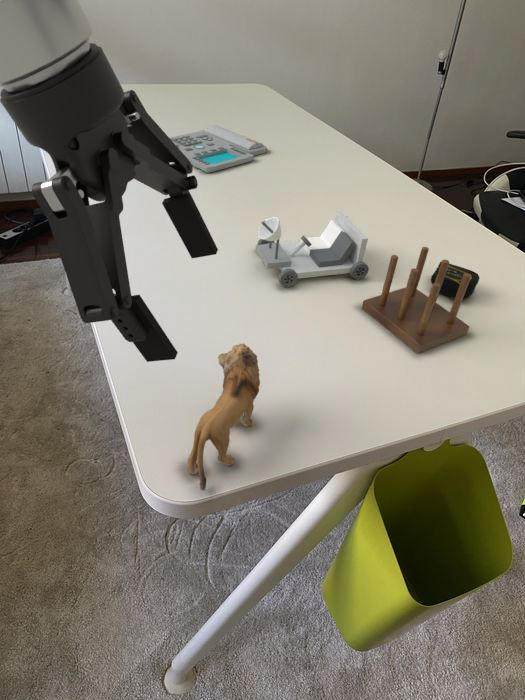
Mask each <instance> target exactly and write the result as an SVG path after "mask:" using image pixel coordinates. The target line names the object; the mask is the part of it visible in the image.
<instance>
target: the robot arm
mask: <svg viewBox="0 0 525 700" xmlns="http://www.w3.org/2000/svg"><path fill="white" fill-rule="evenodd" d="M93 30H94V29H93V27H92V25H91V22H90V21H89V19H88V17H87V15H86V14H85V12H84V10H83V8H82V6H81V4H80V2H79V1H78V0H0V87H2V90H1V91H0V103H1V105H2V106H3V108H4V109H5V111H6V113H7V114H8V115H9V117H10V119H11V120H12V121H13V123H14V124H15V126H16V127H17V129H18V130H19V131H20V133H21V135H22V136H23V137H24V139H25V140H26V142H27V143H28V144H29V145H31V146H33V147H37V148H38V149H41V150H42V151H44V152H46V153H47V154H48V155H49V157H50V158H51V161H52V163H53V166H54V168H55V169H54V170H55V174H53V175H52V176H51V177H49V179H46V180H43V181H38V182H34V183H33V185H31V186H32V187H31V194H32V196H33V198H34V199H35V201H36V203H37V204H38V206H39V208H40V209H41V211H42V212H43V215H44V216H45V217H46V219H47V221H48V225H49V227H50V230H51V233H52V236H53V239H54V242H55V246H56V247H57V251H58V254H59V257H60V260H61V263H62V267H63V270H64V272H65V275H66V279H67V281H68V284H69V287H70V290H71V293H72V297H73V299H74V302H75V305H76V307H77V308H76V309H77V311H78V313H79V317H80V319H81V321H82V322H83V323H85V324H90V323H92V324H93V323H98V322H99V323H101V322H107V321H111V322H112V324H113V325H114V326H115V328H116V329H117V331H118V332H119V333H120V335H121V336H122V337H123V339H124V340H125V341H127V342H128V343H132V344H133V345H134V346H135V348H136V349H137V350H138V352H139V353H140V354H141V356H142V357H143V359H144V360H145V361H146V362H147V363H149V362H160V361H171V360H172V361H173V360H176V359H177V356H178V351H177V349H176V348H175V346H174V345H173V343H172V342H171V340H170V339H169V337H168V335H167V334H166V332H165V330H163V328H162V327H161V325H160V323H159V321H158V320H157V319H156V317H155V316H154V314H153V313H152V311H151V309H150V308H149V307H148V305H147V304H146V302H145V301H144V299H143V298H142V296H141V294H134V295H132V292H131V285H130V284H131V283H130V279H129V272H128V265H127V257H126V252H125V246H124V239H123V234H122V227H121V219H120V215H121V213H122V212H123V211H124V201H123V196H124V194H125V192H126V191H127V187H128V183H130V182H131V181H133V180H136V181H137V182H139V183H141V184H143V185H145V186H147V187H148V188H150V189H151V190H155V191H156V192H158V193H160V194H162V195H164V196H169V197H166V198H164V199H163V201H162V202H161V205H162V206H163V208H164V210H165V211H166V213H167V215H168V217H169V219H170V221H171V223H172V224H173V226H174V228H175V230H176V232H177V234H178V236H179V237H180V240H181V241H182V243H183V245H184V246H185V249H186V251H187V252H188V255H189V256H190V257H191V259H197V258H203V257H209V256H214V255H217V254H218V251H219V248H218V247H217V246H218V245H216V243H215V240H214V238H213V237H212V235H211V233H210V231H209V228H208V226H207V224H206V222H205V220H204V218H203V216H202V214H201V212H200V210H199V208H198V206H197V204H196V202H195V200H194V198H193V196H192V193H191V192H190V191H191V190H196V189H197V188H198V185H199V184H198V180H197V177H196V175H190V174H192V173H193V169H194V166H193V165H192V164H191V162H190V161H189V160H188V158H187V157H186V156H185V155H184V154H183V153H182V152H181V151H180V149H179V148H178V147H177V146H176V145H175V144H174V143H173V142H172V140H171V139H170V137H169V136H168V135H167V133H165V131H164V130H163V129H162V127H160V125H158V123H157V122H156V121H155V120H154V119H153V117H151V115H150V114H149V113H148V112H147V110H146V108H145V106H144V105H143V103H142V100H141V99H140V98H139V96H138V94H137V93H136V91H134V90H133V89H130V90H126V91H124V89H123V87H122V85H121V83H120V81H119V78H118V77H117V75H116V73H115V71H114V68H113V67H112V65H111V64H110V61H109V60H108V58H107V56H106V54H105V51H104V50H103V48H102V46H99V45H97V44H96V43H93V42H90V41H89V40H90V39H91V37H92V35H93ZM188 175H189V176H188ZM90 199H91V200H93V201H96V202H98V203H93V204H90Z"/></svg>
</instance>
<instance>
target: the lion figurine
mask: <svg viewBox="0 0 525 700" xmlns="http://www.w3.org/2000/svg"><path fill="white" fill-rule="evenodd" d="M217 359H218V364H219V366H220V367H222V371H223V376H224V377H223V382H222V383H223V384H222V392H221V395H220V396H219V398H218V399H217V400H216V402H215V403H214V404H215V405H214V407H212V408H211V409H209V410H208V411H206V412H204V414H202V416H201V417H200V418H199V421H198V423H197V425H196V427H195V430H194V437H193V438H194V439H193V445H192V448H191V452H190V454H189V456H188V458H187V470H186V471H187V473H188V474H191V475H195V474H197V473H198V476H199V488H200V490H201V491H204V492H205V491H206V487H207V477H206V475H205V471H204V450H205V447H206V442H207V441H210V442H211V443H212V445H213V446H214V448H215V449H216V450H217V461H218V462H219V463H221V464H223V465H224V466H227V467H229V466H232V465H234V463H235V457H234V456H233V455H230V454H227V452H228V450H229V446H230V434H231V429H232V428H234V427H235V426H236V425H237V424H238V423H239V422H240V421H241V423H242V425H243V426H244V427H252V426H253V425H254V421H253V419H252V414H253V412H254V406H255V404H254V401H255V399H256V398H257V396H258V394H259V393H260V384H261V379H260V368H259V362H258V355H257V354H255V352H254V351H253V350H252V349H251V348H250V347H249V346H247V344H245V343H238V344H234V345H233V346H232V347H231V349H230V350H229V351H228V352H226V353H220V354H218V356H217Z"/></svg>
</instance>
